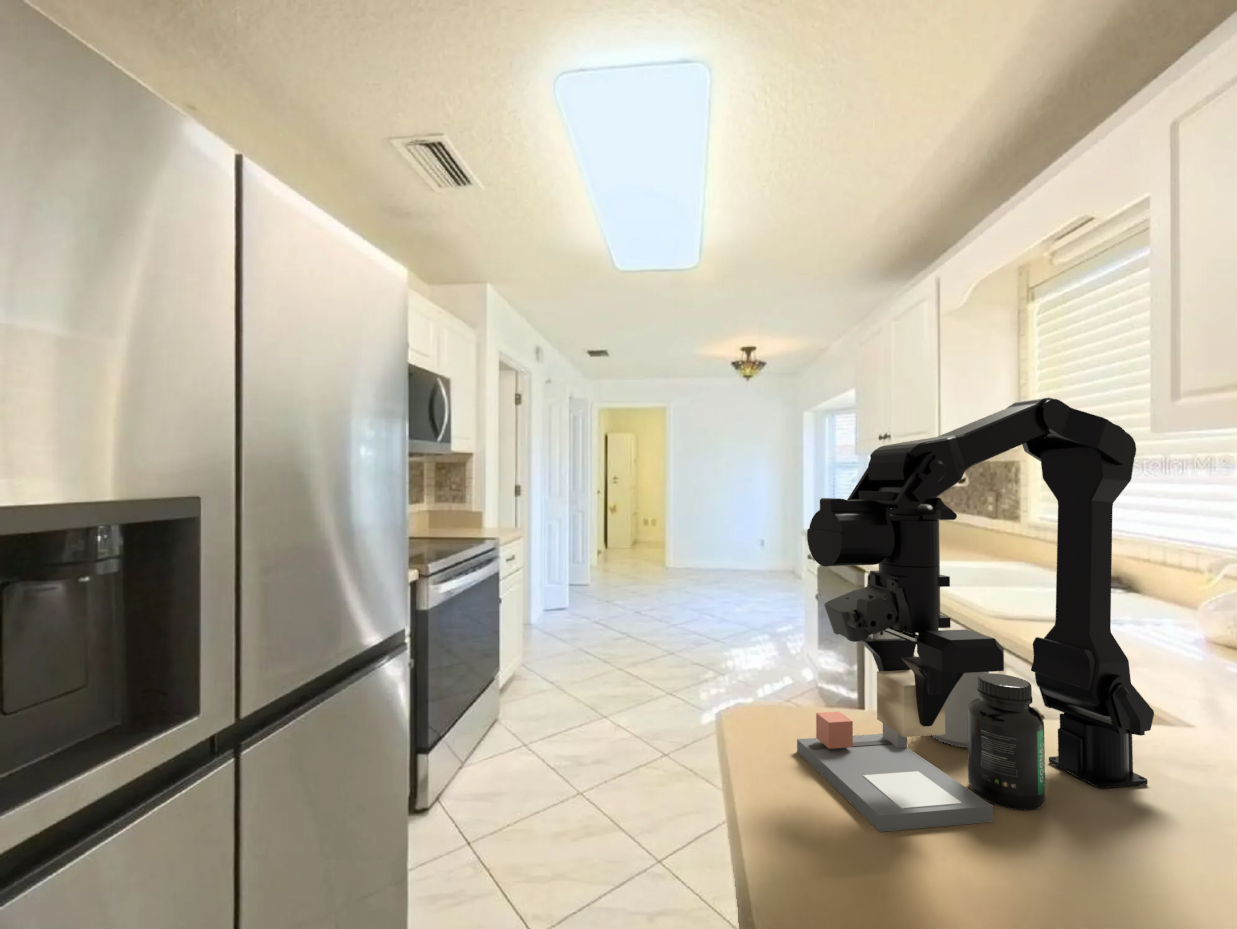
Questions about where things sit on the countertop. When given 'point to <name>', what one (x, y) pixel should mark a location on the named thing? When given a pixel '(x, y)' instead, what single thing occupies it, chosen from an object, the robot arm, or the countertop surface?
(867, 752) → the base
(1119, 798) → the countertop surface
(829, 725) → the salmon red cube
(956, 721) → the can
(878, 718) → the block
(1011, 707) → the supplement bottle
